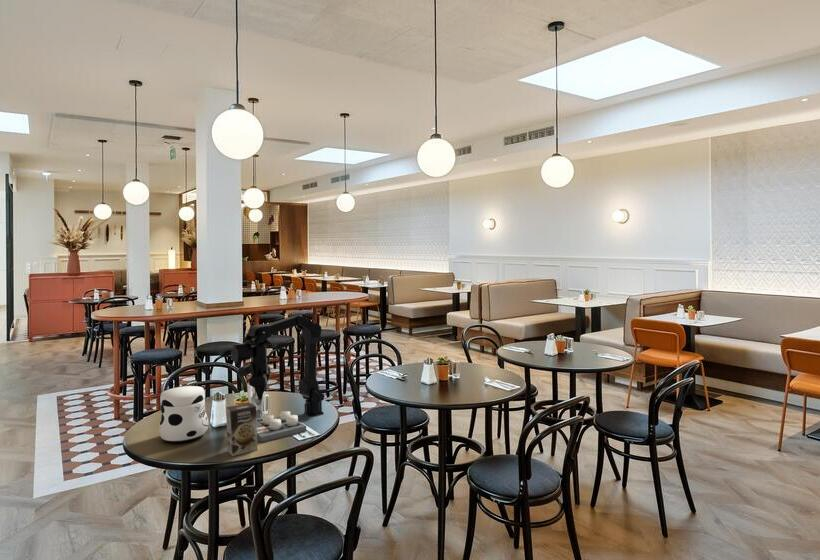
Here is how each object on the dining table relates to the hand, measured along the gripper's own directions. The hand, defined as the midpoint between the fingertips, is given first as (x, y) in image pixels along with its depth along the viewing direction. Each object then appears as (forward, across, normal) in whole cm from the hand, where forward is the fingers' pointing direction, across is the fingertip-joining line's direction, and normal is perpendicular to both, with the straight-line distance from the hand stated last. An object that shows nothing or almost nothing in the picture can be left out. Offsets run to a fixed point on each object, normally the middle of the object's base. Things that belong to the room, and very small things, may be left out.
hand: (261, 396), depth 204 cm
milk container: (+13, +3, -29) cm, 32 cm away
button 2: (+11, +7, +6) cm, 14 cm away
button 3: (+11, -2, +8) cm, 14 cm away
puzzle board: (+13, +3, +5) cm, 15 cm away
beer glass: (+14, -14, -4) cm, 20 cm away
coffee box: (+13, +21, -5) cm, 25 cm away
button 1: (+11, +1, +2) cm, 11 cm away
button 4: (+11, +4, +12) cm, 17 cm away
